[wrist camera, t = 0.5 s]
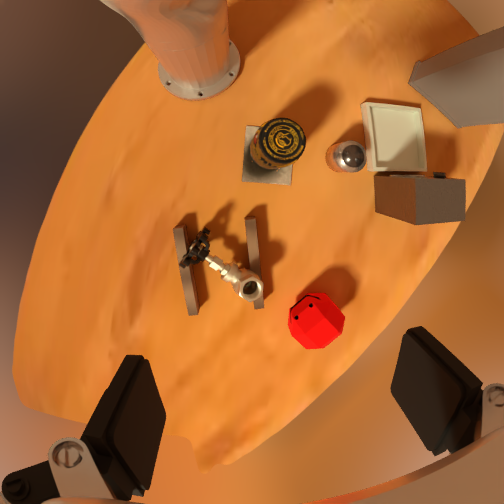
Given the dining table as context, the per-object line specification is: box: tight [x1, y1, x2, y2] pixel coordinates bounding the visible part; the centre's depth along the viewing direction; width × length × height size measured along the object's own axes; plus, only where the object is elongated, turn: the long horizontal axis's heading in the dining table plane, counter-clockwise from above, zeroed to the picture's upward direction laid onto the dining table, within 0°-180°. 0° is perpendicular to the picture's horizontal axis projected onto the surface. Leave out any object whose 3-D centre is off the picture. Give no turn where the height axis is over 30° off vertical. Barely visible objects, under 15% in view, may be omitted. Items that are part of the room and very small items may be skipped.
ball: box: [288, 293, 345, 349], centre depth 44 cm, size 8×8×8 cm
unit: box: [374, 172, 466, 225], centre depth 37 cm, size 7×10×12 cm
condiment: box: [242, 118, 306, 185], centre depth 35 cm, size 7×8×12 cm
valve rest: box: [173, 217, 264, 316], centre depth 43 cm, size 14×12×2 cm
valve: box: [179, 227, 264, 302], centre depth 41 cm, size 7×7×12 cm
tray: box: [361, 102, 427, 172], centre depth 39 cm, size 11×11×2 cm
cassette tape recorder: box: [408, 27, 504, 128], centre depth 26 cm, size 14×6×25 cm, turn 64°
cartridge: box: [325, 141, 367, 172], centre depth 38 cm, size 4×4×6 cm
